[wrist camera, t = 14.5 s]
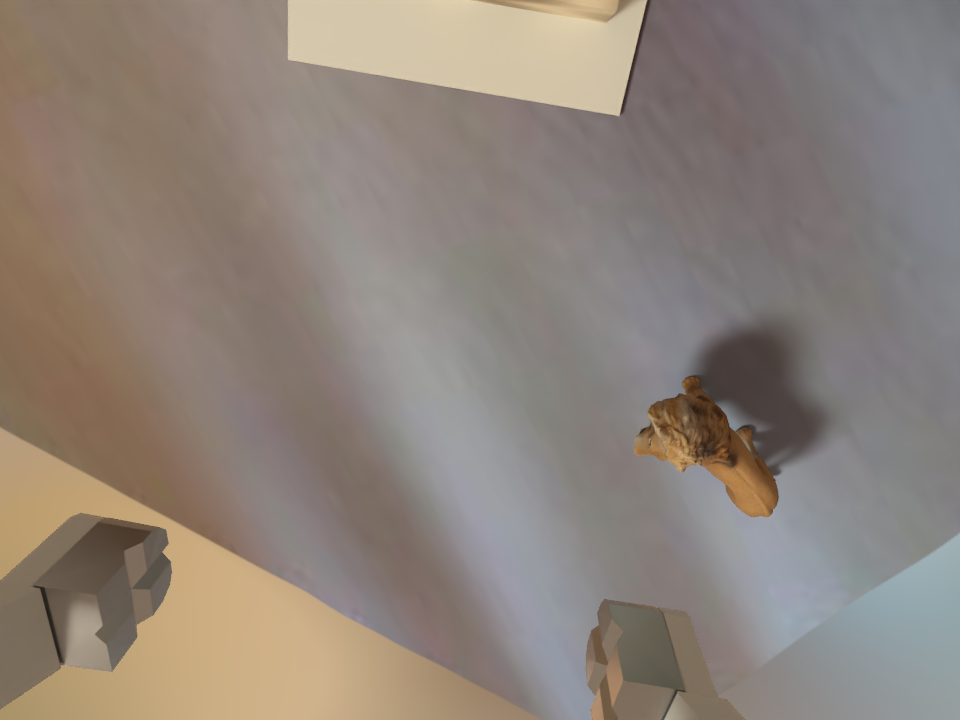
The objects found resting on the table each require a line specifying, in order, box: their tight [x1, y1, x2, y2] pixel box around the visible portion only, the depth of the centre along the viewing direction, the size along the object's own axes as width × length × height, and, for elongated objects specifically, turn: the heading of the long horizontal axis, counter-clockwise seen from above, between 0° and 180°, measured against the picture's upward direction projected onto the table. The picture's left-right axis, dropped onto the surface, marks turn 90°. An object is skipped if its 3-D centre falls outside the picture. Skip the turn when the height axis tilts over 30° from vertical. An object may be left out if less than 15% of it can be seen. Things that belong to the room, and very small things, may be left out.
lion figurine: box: [634, 377, 779, 517], centre depth 37 cm, size 15×5×9 cm, turn 54°
